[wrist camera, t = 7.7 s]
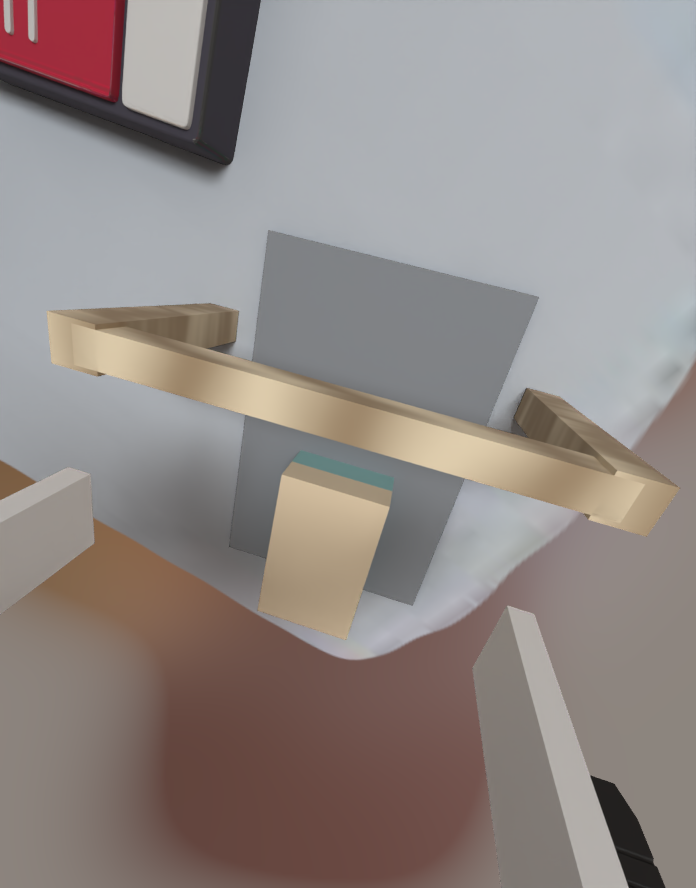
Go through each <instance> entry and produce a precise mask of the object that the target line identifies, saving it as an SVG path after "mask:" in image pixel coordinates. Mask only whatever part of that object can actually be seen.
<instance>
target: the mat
mask: <svg viewBox="0 0 696 888" xmlns="http://www.w3.org/2000/svg"><path fill="white" fill-rule="evenodd" d="M538 299H539V297H537V296H533V295H529V294H525V293H521V292H517V291H513V290H509V289H505V288H500V287H496V286H492V285H488V284H484V283H480V282H476V281H472V280H468V279H464V278H460V277H456V276H452V275H448V274H444V273H440V272H436V271H432V270H428V269H424V268H419V267H415V266H411V265H407V264H403V263H399V262H395V261H391V260H387V259H383V258H379V257H375V256H371V255H367V254H363V253H359V252H355V251H351V250H347V249H343V248H338V247H334V246H330V245H326V244H322V243H318V242H314V241H310V240H306V239H302V238H298V237H294V236H290V235H286V234H282V233H278V232H274V231H270V230H268V238H267V246H266V254H265V262H264V270H263V278H262V286H261V294H260V302H259V310H258V318H257V326H256V334H255V342H254V350H253V358H252V362H256V363H260V364H263V365H267V366H270V367H274V368H278V369H281V370H285V371H288V372H292V373H296V374H299V375H303V376H306V377H310V378H314V379H317V380H321V381H324V382H328V383H332V384H335V385H339V386H342V387H346V388H350V389H353V390H357V391H360V392H364V393H368V394H371V395H375V396H378V397H382V398H386V399H389V400H393V401H396V402H400V403H404V404H407V405H411V406H414V407H418V408H422V409H425V410H429V411H432V412H436V413H439V414H443V415H447V416H450V417H454V418H457V419H461V420H465V421H468V422H472V423H475V424H479V425H483V426H486V425H487V423H488V420H489V418H490V416H491V413H492V411H493V408H494V406H495V403H496V401H497V399H498V396H499V394H500V391H501V389H502V386H503V384H504V382H505V379H506V377H507V374H508V372H509V369H510V367H511V364H512V362H513V360H514V357H515V355H516V352H517V350H518V347H519V345H520V343H521V340H522V338H523V335H524V333H525V330H526V328H527V325H528V323H529V321H530V318H531V316H532V313H533V311H534V308H535V306H536V304H537V301H538ZM301 450H302V451H305V452H309V453H312V454H316V455H319V456H322V457H326V458H329V459H333V460H336V461H339V462H343V463H346V464H349V465H353V466H356V467H360V468H363V469H366V470H370V471H373V472H377V473H380V474H383V475H387V476H390V477H394V484H393V490H392V496H391V503H390V508H389V511H388V514H387V517H386V520H385V523H384V526H383V529H382V532H381V536H380V539H379V542H378V545H377V548H376V551H375V554H374V557H373V560H372V563H371V566H370V569H369V572H368V575H367V578H366V581H365V584H364V587H363V590H365V591H368V592H371V593H375V594H378V595H381V596H384V597H387V598H390V599H393V600H396V601H399V602H403V603H406V604H409V605H412V606H413V603H414V601H415V598H416V596H417V593H418V591H419V589H420V586H421V584H422V581H423V579H424V576H425V574H426V572H427V569H428V567H429V564H430V562H431V559H432V557H433V554H434V552H435V550H436V547H437V545H438V542H439V540H440V537H441V535H442V533H443V530H444V528H445V525H446V523H447V520H448V518H449V515H450V513H451V511H452V508H453V506H454V503H455V501H456V498H457V496H458V494H459V491H460V489H461V486H462V484H463V481H464V479H465V478H462V477H458V476H455V475H451V474H448V473H445V472H441V471H438V470H434V469H431V468H427V467H424V466H421V465H417V464H414V463H410V462H407V461H403V460H400V459H396V458H393V457H390V456H386V455H383V454H379V453H376V452H372V451H369V450H365V449H362V448H359V447H355V446H352V445H348V444H345V443H341V442H338V441H334V440H331V439H328V438H324V437H321V436H317V435H314V434H310V433H307V432H304V431H300V430H297V429H293V428H290V427H286V426H283V425H279V424H276V423H273V422H269V421H266V420H262V419H259V418H255V417H252V416H248V415H245V423H244V431H243V439H242V447H241V455H240V463H239V471H238V479H237V487H236V495H235V503H234V511H233V519H232V527H231V535H230V544H229V547H232V548H235V549H238V550H241V551H244V552H247V553H250V554H254V555H257V556H260V557H263V558H266V559H267V554H268V548H269V543H270V537H271V532H272V526H273V520H274V515H275V509H276V504H277V498H278V493H279V487H280V481H281V476H282V474H283V472H284V471H285V470H286V468H287V467H288V466H289V465H290V463H291V462H292V461H293V459H294V458H295V457H296V456H297V454H298V453H299V452H300V451H301Z"/></svg>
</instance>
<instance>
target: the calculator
mask: <svg viewBox="0 0 696 888" xmlns="http://www.w3.org/2000/svg"><path fill="white" fill-rule="evenodd" d="M260 2H261V0H0V79H1V80H3V81H5V82H7V83H9V84H12V85H15V86H17V87H20V88H23V89H25V90H28V91H30V92H33V93H36V94H38V95H41V96H44V97H46V98H49V99H52V100H54V101H57V102H60V103H62V104H65V105H68V106H70V107H73V108H76V109H79V110H81V111H84V112H87V113H89V114H92V115H95V116H98V117H100V118H103V119H106V120H108V121H111V122H114V123H116V124H119V125H122V126H125V127H127V128H130V129H133V130H135V131H138V132H141V133H144V134H146V135H149V136H152V137H154V138H157V139H159V140H161V141H164V142H166V143H168V144H171V145H174V146H176V147H179V148H182V149H184V150H187V151H189V152H192V153H195V154H197V155H200V156H203V157H205V158H208V159H211V160H213V161H216V162H219V163H222V164H225V165H228V164H230V163H231V162H232V161H233V157H234V152H235V147H236V141H237V135H238V129H239V123H240V118H241V112H242V106H243V100H244V95H245V89H246V83H247V77H248V72H249V66H250V60H251V54H252V48H253V43H254V37H255V31H256V25H257V20H258V14H259V8H260Z"/></svg>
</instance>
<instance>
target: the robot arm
mask: <svg viewBox="0 0 696 888" xmlns="http://www.w3.org/2000/svg"><path fill="white" fill-rule="evenodd" d="M94 543H95V542H94V526H93V509H92V493H91V476H90V474H89V473H86V472H82V471H79V470H76V469H73V468H70V467H67V468H65V469H63V470H61V471H59V472H57V473H55V474H53V475H51V476H49V477H47V478H45V479H43V480H41V481H39V482H37V483H35V484H33V485H31V486H29V487H27V488H24V489H23V490H20V491H18V492H16V493H14V494H12V495H10V496H8V497H6V498H4V499H2V500H0V614H2V613H3V612H4V611H6V610H7V609H8V608H10V607H11V606H12V605H14V604H15V603H16V602H17V601H19V600H20V599H21V598H23V597H24V596H25V595H27V594H28V593H29V592H31V591H32V590H33V589H35V588H36V587H37V586H39V585H40V584H41V583H43V582H44V581H45V580H47V579H48V578H49V577H50V576H52V575H53V574H54V573H56V572H57V571H58V570H60V569H61V568H62V567H63V566H65V565H66V564H68V563H69V562H70V561H71V560H73V559H74V558H75V557H77V556H78V555H79V554H81V553H82V552H83V551H85V550H86V549H87V548H89V547H90V546H91V545H93V544H94ZM472 669H473V677H474V684H475V692H476V699H477V707H478V714H479V722H480V730H481V737H482V745H483V752H484V760H485V768H486V776H487V783H488V791H489V798H490V806H491V814H492V821H493V828H494V836H495V844H496V852H497V859H498V867H499V875H500V882H501V888H665V885H664V883H663V880H662V878H661V876H660V873H659V871H658V868H657V867H656V866H655V865H654V863H653V859H654V858H653V856H652V853H651V851H650V849H649V846H648V844H647V841H646V839H645V836H644V834H643V831H642V829H641V826H640V824H639V822H638V819H637V818H636V816H635V815H634V813H633V812H632V810H631V809H630V807H629V806H628V804H627V803H626V801H625V799H624V798H623V796H622V795H621V793H620V792H619V790H618V789H617V787H616V786H615V784H613V783H611V782H608V781H605V780H602V779H599V778H596V777H593V776H590V774H589V772H588V769H587V766H586V763H585V760H584V757H583V754H582V751H581V748H580V745H579V743H578V740H577V737H576V734H575V731H574V728H573V725H572V722H571V719H570V717H569V714H568V711H567V708H566V705H565V702H564V699H563V696H562V693H561V691H560V688H559V685H558V682H557V679H556V676H555V673H554V670H553V667H552V665H551V662H550V659H549V656H548V653H547V650H546V647H545V644H544V642H543V639H542V636H541V633H540V630H539V627H538V624H537V621H536V618H535V615H534V614H532V613H529V612H526V611H523V610H520V609H517V608H513V607H510V606H507V607H506V609H505V610H504V612H503V614H502V616H501V618H500V619H499V621H498V623H497V625H496V627H495V628H494V630H493V632H492V634H491V636H490V637H489V639H488V641H487V643H486V645H485V647H484V648H483V650H482V652H481V654H480V656H479V657H478V659H477V661H476V663H475V665H474V667H473V668H472Z"/></svg>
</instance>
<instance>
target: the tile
mask: <svg viewBox="0 0 696 888" xmlns="http://www.w3.org/2000/svg"><path fill="white" fill-rule="evenodd" d="M393 484H394V477H390V476H387V475H383V474H380V473H377V472H373V471H370V470H366V469H363V468H360V467H356V466H353V465H349V464H346V463H343V462H339V461H336V460H333V459H329V458H326V457H322V456H319V455H316V454H312V453H309V452H305V451H302V450H301V451H300V452H299V453H298V454H297V456H296V457H295V458H294V459H293V461H292V462H291V463H290V465H289V466H288V467H287V468H286V470H285V471H284V472H283V474H282V476H281V481H280V487H279V493H278V498H277V504H276V509H275V515H274V520H273V526H272V532H271V537H270V543H269V548H268V554H267V560H266V565H265V571H264V576H263V582H262V587H261V593H260V599H259V604H258V610H257V611H260V612H263V613H266V614H269V615H272V616H275V617H278V618H281V619H284V620H287V621H290V622H293V623H296V624H299V625H302V626H305V627H308V628H311V629H314V630H317V631H320V632H323V633H326V634H329V635H332V636H335V637H338V638H341V639H344V640H346V639H347V636H348V633H349V630H350V627H351V624H352V621H353V618H354V615H355V612H356V609H357V606H358V603H359V600H360V596H361V593H362V590H363V587H364V584H365V581H366V578H367V575H368V572H369V569H370V566H371V563H372V560H373V557H374V554H375V551H376V548H377V545H378V542H379V539H380V536H381V532H382V529H383V526H384V523H385V520H386V517H387V514H388V511H389V508H390V503H391V496H392V490H393Z"/></svg>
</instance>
